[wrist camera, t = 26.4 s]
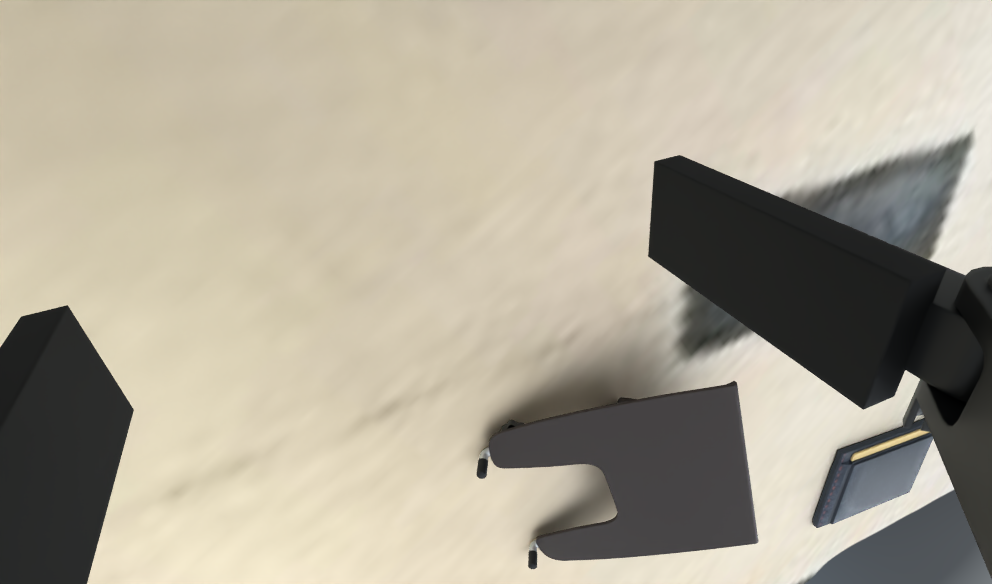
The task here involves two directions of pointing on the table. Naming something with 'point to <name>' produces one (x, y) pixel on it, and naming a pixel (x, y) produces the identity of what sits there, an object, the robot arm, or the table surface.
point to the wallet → (872, 473)
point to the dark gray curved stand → (645, 473)
